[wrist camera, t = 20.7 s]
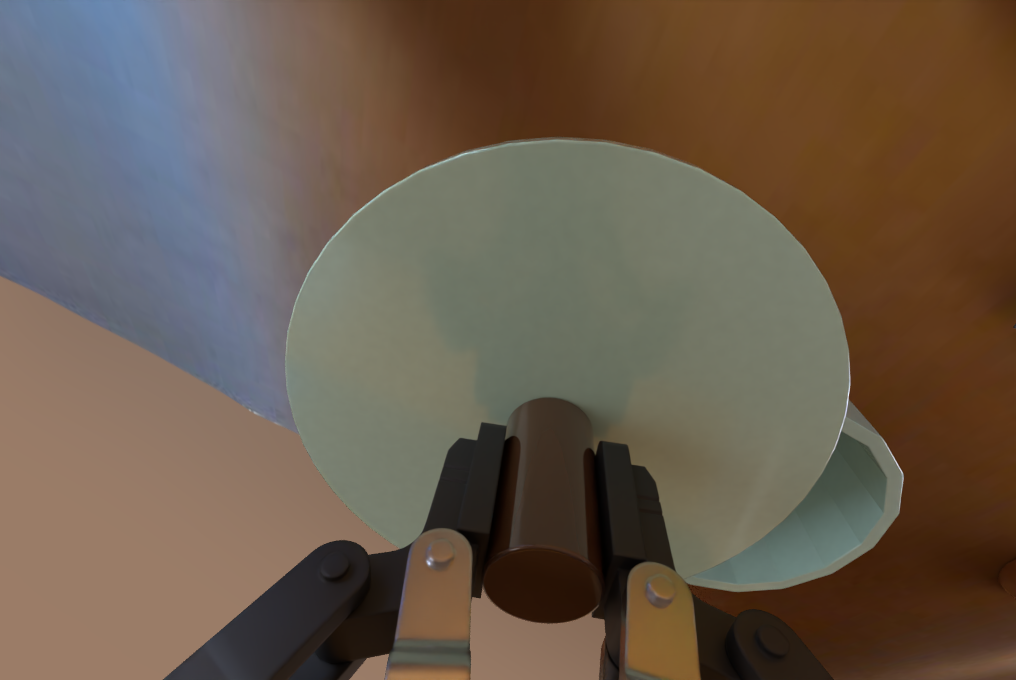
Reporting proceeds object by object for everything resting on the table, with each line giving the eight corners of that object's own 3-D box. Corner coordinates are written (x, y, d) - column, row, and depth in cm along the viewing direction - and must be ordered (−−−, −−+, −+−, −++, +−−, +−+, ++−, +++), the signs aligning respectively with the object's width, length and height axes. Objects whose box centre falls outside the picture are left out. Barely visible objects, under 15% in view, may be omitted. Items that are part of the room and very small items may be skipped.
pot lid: (325, 532, 20) (234, 706, 14) (269, 92, 12) (12, 110, 6) (720, 597, 19) (781, 805, 14) (953, 181, 11) (1328, 287, 6)
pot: (591, 448, 42) (599, 570, 32) (631, 293, 35) (659, 386, 25) (763, 475, 42) (828, 607, 31) (841, 323, 34) (962, 431, 24)
